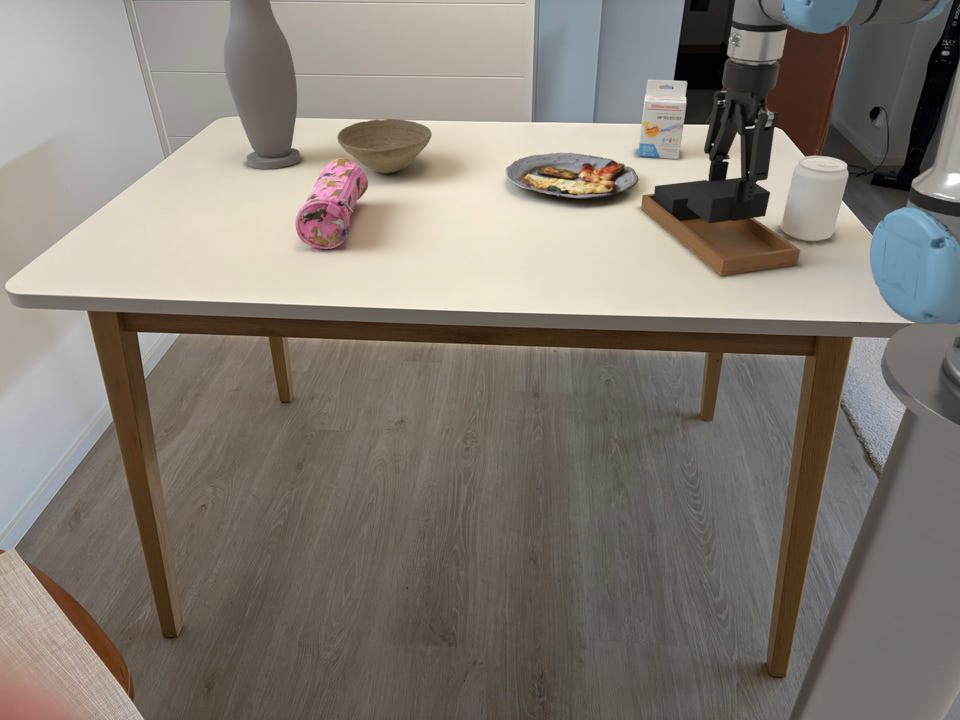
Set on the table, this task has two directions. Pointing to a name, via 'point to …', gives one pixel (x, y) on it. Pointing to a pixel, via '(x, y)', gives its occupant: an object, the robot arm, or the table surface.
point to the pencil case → (331, 204)
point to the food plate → (572, 175)
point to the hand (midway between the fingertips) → (725, 209)
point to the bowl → (385, 143)
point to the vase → (262, 83)
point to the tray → (727, 241)
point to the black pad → (723, 200)
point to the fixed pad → (675, 199)
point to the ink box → (663, 119)
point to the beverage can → (814, 198)
